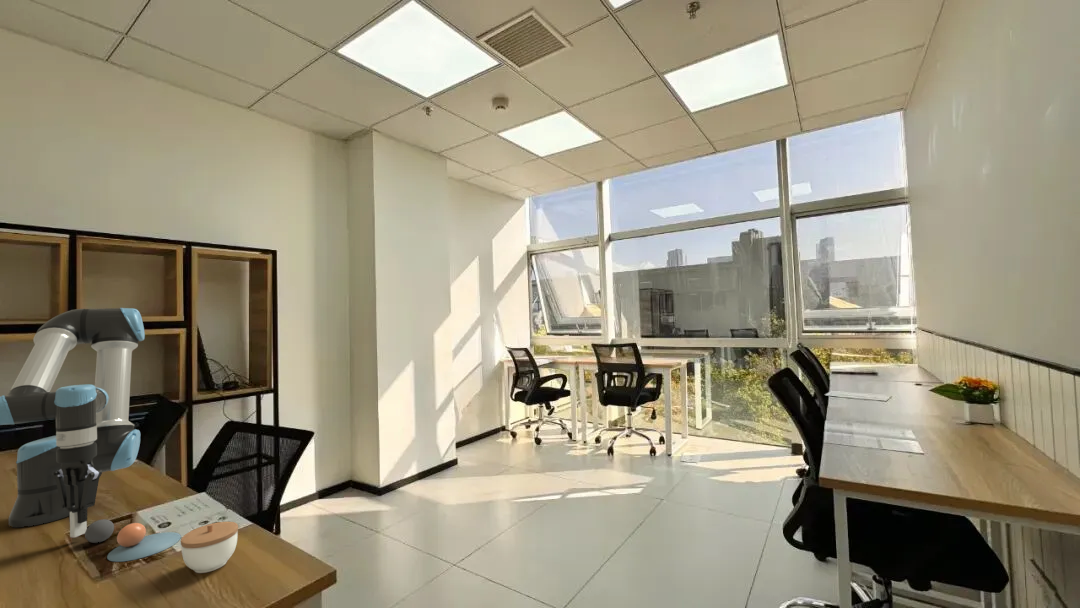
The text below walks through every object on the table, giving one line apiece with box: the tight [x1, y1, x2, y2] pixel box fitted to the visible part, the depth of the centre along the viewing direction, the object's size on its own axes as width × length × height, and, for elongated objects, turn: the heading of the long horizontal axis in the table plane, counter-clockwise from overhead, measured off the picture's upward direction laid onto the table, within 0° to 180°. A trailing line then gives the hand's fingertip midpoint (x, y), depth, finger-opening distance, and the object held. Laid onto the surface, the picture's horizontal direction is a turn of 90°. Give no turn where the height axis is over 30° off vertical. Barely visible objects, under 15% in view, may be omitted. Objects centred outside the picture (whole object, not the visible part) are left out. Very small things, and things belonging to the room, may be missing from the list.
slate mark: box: [106, 531, 182, 563], centre depth 114 cm, size 14×14×1 cm
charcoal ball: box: [84, 519, 115, 544], centre depth 118 cm, size 6×6×6 cm
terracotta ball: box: [116, 522, 147, 547], centre depth 115 cm, size 6×6×6 cm
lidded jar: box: [180, 521, 239, 574], centre depth 104 cm, size 11×11×9 cm
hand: (78, 534), depth 118 cm, fingers closed
